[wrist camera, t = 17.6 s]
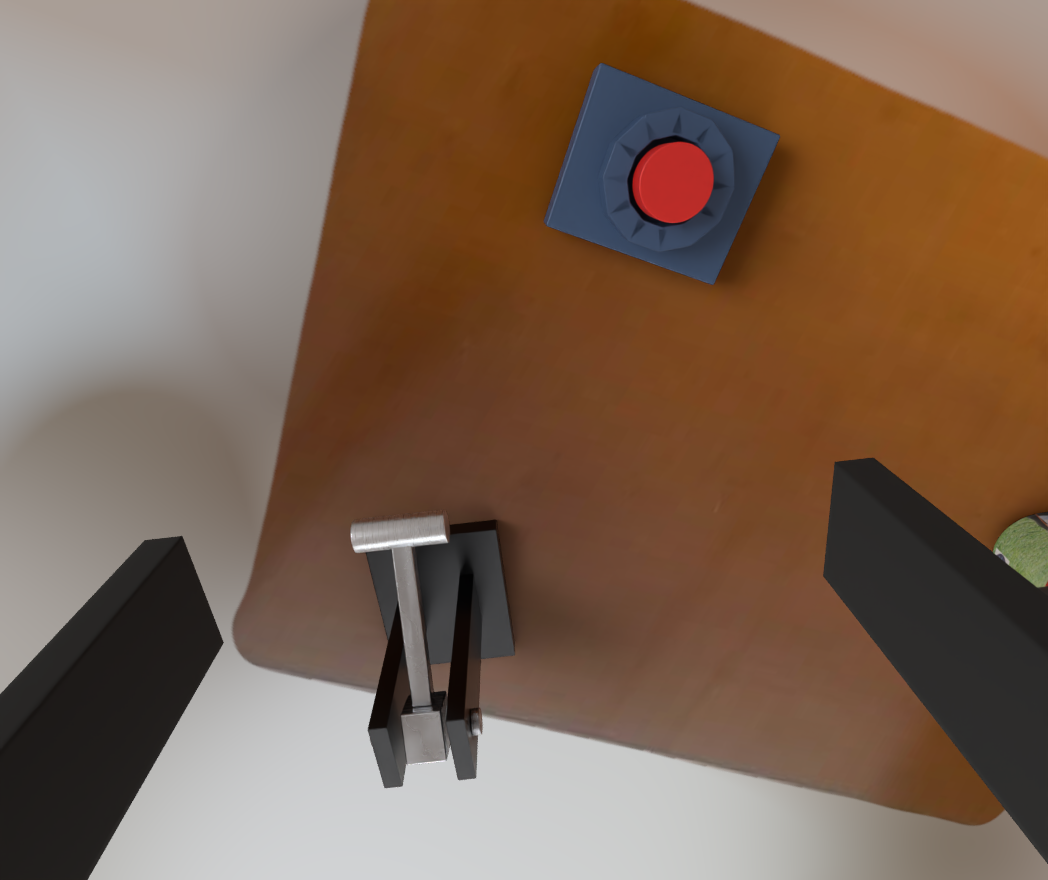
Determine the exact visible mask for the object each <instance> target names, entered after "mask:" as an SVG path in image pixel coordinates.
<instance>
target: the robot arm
mask: <svg viewBox="0 0 1048 880" xmlns="http://www.w3.org/2000/svg"><path fill="white" fill-rule="evenodd" d="M823 576H824V578H825V579H826V580H827V581H828V583H829V584H830V585H831V587H832V588H833V589H834V590H835V592H836V593H837V594H838V596H839V597H840V598H841V599H842V601H843V602H844V603H845V604H846V606H847V607H848V608H849V610H850V611H851V612H852V613H853V615H854V616H855V617H856V619H857V620H858V621H859V622H860V624H861V625H862V626H863V628H864V629H865V630H866V631H867V633H868V634H869V635H870V637H871V638H872V639H873V640H874V642H875V643H876V644H877V646H878V647H879V648H880V649H881V651H882V652H883V653H884V654H885V656H886V657H887V658H888V660H889V661H890V662H891V663H892V665H893V666H894V667H895V669H896V670H897V671H898V672H899V674H900V675H901V676H902V678H903V679H904V680H905V681H906V683H907V684H908V685H909V687H910V688H911V689H912V690H913V692H914V693H915V694H916V696H917V697H918V698H919V699H920V701H921V702H922V703H923V705H924V706H925V707H926V708H927V710H928V711H929V712H930V713H931V715H932V716H933V717H934V719H935V720H936V721H937V722H938V724H939V725H940V726H941V728H942V729H943V730H944V731H945V733H946V734H947V735H948V737H949V738H950V739H951V740H952V742H953V743H954V744H955V746H956V747H957V748H958V749H959V751H960V752H961V753H962V755H963V756H964V757H965V758H966V760H967V761H968V762H969V763H970V765H971V766H972V767H973V769H974V770H975V771H976V772H977V774H978V775H979V776H980V778H981V779H982V780H983V781H984V783H985V784H986V785H987V787H988V788H989V789H990V790H991V792H992V793H993V794H994V796H995V797H996V798H997V799H998V801H999V802H1000V803H1001V805H1002V806H1003V807H1004V808H1005V810H1006V811H1007V812H1008V813H1009V815H1010V816H1011V817H1012V819H1013V820H1014V821H1015V822H1016V824H1017V825H1018V826H1019V828H1020V829H1021V830H1022V831H1023V833H1024V834H1025V835H1026V837H1027V838H1028V839H1029V840H1030V842H1031V843H1032V844H1033V845H1034V847H1035V848H1036V849H1037V850H1038V852H1039V853H1040V855H1041V856H1042V857H1043V858H1044V859H1045V861H1046V862H1047V864H1048V586H1045V587H1036V586H1035V585H1033V584H1032V583H1031V582H1030V581H1028V580H1027V579H1026V578H1025V577H1023V576H1022V575H1021V574H1020V573H1018V572H1017V571H1016V570H1015V569H1013V568H1012V567H1011V566H1009V565H1008V564H1007V563H1006V562H1004V561H1003V560H1002V559H1001V558H999V557H998V556H997V555H996V554H994V553H993V552H992V551H991V550H989V549H988V548H987V547H986V546H984V545H983V544H982V543H980V542H979V541H978V540H977V539H975V538H974V537H973V536H972V535H970V534H969V533H968V532H967V531H965V530H964V529H963V528H962V527H960V526H959V525H958V524H957V523H955V522H954V521H953V520H951V519H950V518H949V517H948V516H946V515H945V514H944V513H943V512H941V511H940V510H939V509H938V508H936V507H935V506H934V505H933V504H931V503H930V502H929V501H928V500H926V499H925V498H924V497H922V496H921V495H920V494H919V493H917V492H916V491H915V490H914V489H912V488H911V487H910V486H909V485H907V484H906V483H905V482H904V481H902V480H901V479H900V478H899V477H897V476H896V475H895V474H893V473H892V472H891V471H890V470H888V469H887V468H886V467H885V466H883V465H882V464H881V463H880V462H878V461H877V460H876V459H875V458H866V459H857V460H848V461H839V462H835V465H834V475H833V485H832V495H831V505H830V515H829V525H828V534H827V544H826V554H825V564H824V574H823ZM223 643H224V642H223V640H222V637H221V635H220V632H219V629H218V627H217V624H216V622H215V619H214V616H213V614H212V611H211V609H210V606H209V604H208V601H207V598H206V596H205V593H204V591H203V588H202V586H201V583H200V580H199V578H198V575H197V573H196V570H195V568H194V565H193V562H192V560H191V557H190V555H189V552H188V550H187V547H186V544H185V542H184V539H183V537H182V536H179V537H171V538H161V539H152V540H145V541H144V542H143V543H142V544H141V545H140V546H139V547H138V548H137V549H136V550H135V551H134V552H133V553H132V554H131V555H130V557H129V558H128V559H127V560H126V561H125V562H124V563H123V564H122V565H121V566H120V567H119V568H118V569H117V570H116V571H115V573H114V574H113V575H112V576H111V577H110V578H109V579H108V580H107V581H106V582H105V583H104V584H103V585H102V586H101V588H100V589H99V590H98V591H97V592H96V593H95V594H94V595H93V596H92V597H91V598H90V599H89V600H88V602H86V603H85V605H84V606H83V607H82V608H81V609H80V610H79V611H78V612H77V613H76V614H75V615H74V616H73V617H72V618H71V619H70V620H69V622H68V623H67V624H66V625H65V626H64V627H63V628H62V629H61V630H60V631H59V632H58V633H57V634H56V636H55V637H54V638H53V639H52V640H51V641H50V642H49V643H48V644H47V645H46V646H45V647H44V648H43V649H42V650H41V651H40V652H39V654H38V655H37V656H36V657H35V658H34V659H33V660H32V661H31V662H30V663H29V664H28V665H27V666H26V668H25V669H24V670H23V671H22V672H21V673H20V674H19V675H18V676H17V677H16V678H15V679H14V680H13V681H12V682H11V683H10V684H9V685H8V687H7V688H6V689H5V690H4V691H3V692H2V693H1V694H0V880H88V878H89V876H90V874H91V873H92V871H93V869H94V867H95V866H96V864H97V862H98V860H99V859H100V857H101V855H102V854H103V852H104V850H105V848H106V847H107V845H108V843H109V841H110V840H111V838H112V836H113V834H114V833H115V831H116V829H117V827H118V826H119V824H120V822H121V821H122V819H123V817H124V815H125V814H126V812H127V810H128V808H129V807H130V805H131V803H132V801H133V800H134V798H135V796H136V794H137V793H138V791H139V789H140V788H141V786H142V784H143V782H144V781H145V779H146V777H147V775H148V774H149V772H150V770H151V768H152V767H153V765H154V763H155V761H156V760H157V758H158V756H159V754H160V753H161V751H162V749H163V747H164V746H165V744H166V742H167V740H168V739H169V737H170V735H171V734H172V732H173V730H174V728H175V726H176V725H177V723H178V721H179V720H180V718H181V716H182V714H183V713H184V711H185V709H186V707H187V706H188V704H189V702H190V700H191V699H192V697H193V695H194V694H195V692H196V690H197V688H198V687H199V685H200V683H201V681H202V680H203V678H204V676H205V674H206V672H207V671H208V669H209V667H210V666H211V664H212V662H213V660H214V659H215V657H216V655H217V653H218V652H219V650H220V648H221V646H222V645H223Z"/></svg>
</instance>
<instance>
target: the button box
mask: <svg viewBox="0 0 1048 880" xmlns="http://www.w3.org/2000/svg"><path fill="white" fill-rule="evenodd" d="M779 138H780V135H778V134H776V133H773V132H771V131H769V130H766V129H764V128H761V127H759V126H756V125H754V124H751V123H749V122H746V121H744V120H741V119H739V118H737V117H734V116H732V115H729V114H727V113H724V112H722V111H719V110H717V109H714V108H712V107H709V106H707V105H704V104H702V103H700V102H697V101H695V100H692V99H690V98H687V97H685V96H682V95H680V94H677V93H675V92H672V91H670V90H667V89H665V88H663V87H660V86H658V85H655V84H653V83H650V82H648V81H645V80H643V79H640V78H638V77H635V76H633V75H631V74H628V73H626V72H623V71H621V70H618V69H616V68H613V67H611V66H608V65H606V64H603V63H600V64H599V65H598V66H597V67H596V68H595V69H594V71H593V74H592V77H591V80H590V83H589V86H588V90H587V93H586V96H585V99H584V102H583V105H582V108H581V111H580V114H579V117H578V120H577V123H576V126H575V129H574V132H573V135H572V138H571V141H570V144H569V147H568V150H567V153H566V156H565V159H564V162H563V165H562V168H561V171H560V174H559V177H558V180H557V183H556V186H555V189H554V192H553V195H552V198H551V201H550V204H549V207H548V210H547V213H546V216H545V219H544V223H545V224H546V225H547V226H548V227H551V228H554V229H557V230H559V231H562V232H565V233H568V234H571V235H573V236H576V237H579V238H582V239H585V240H587V241H590V242H593V243H596V244H599V245H601V246H604V247H607V248H610V249H613V250H616V251H618V252H621V253H624V254H627V255H630V256H632V257H635V258H638V259H641V260H644V261H646V262H649V263H652V264H655V265H658V266H661V267H663V268H666V269H669V270H672V271H675V272H677V273H680V274H683V275H686V276H689V277H691V278H694V279H697V280H700V281H703V282H706V283H708V284H711V285H713V284H714V283H715V281H716V278H717V276H718V274H719V272H720V270H721V267H722V265H723V263H724V261H725V258H726V256H727V254H728V252H729V250H730V247H731V245H732V243H733V241H734V238H735V236H736V234H737V232H738V230H739V227H740V225H741V223H742V221H743V218H744V216H745V214H746V212H747V210H748V207H749V205H750V203H751V201H752V198H753V196H754V194H755V192H756V190H757V187H758V185H759V183H760V181H761V178H762V176H763V174H764V172H765V170H766V167H767V165H768V163H769V161H770V158H771V156H772V154H773V152H774V149H775V147H776V145H777V143H778V141H779ZM672 142H686V143H690V144H693V145H695V146H697V147H698V148H700V149H701V150H702V151H703V152H704V153H705V154H706V155H707V157H708V158H709V160H710V162H711V165H712V168H713V174H714V183H713V189H712V192H711V195H710V198H709V200H708V202H707V203H706V205H705V206H704V207H703V208H702V210H701V211H700V212H699V213H698V214H696V215H695V216H694V217H692V218H690V219H688V220H686V221H683V222H678V223H667V222H663V221H660V220H657V219H654V218H652V217H650V216H648V215H647V214H645V213H644V212H643V211H642V210H641V209H640V208H639V206H638V204H637V203H636V200H635V198H634V195H633V187H632V183H633V176H634V172H635V169H636V167H637V165H638V163H639V161H640V160H641V159H642V157H643V156H644V155H645V154H646V153H647V152H648V151H650V150H651V149H652V148H654V147H656V146H658V145H661V144H665V143H672Z"/></svg>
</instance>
